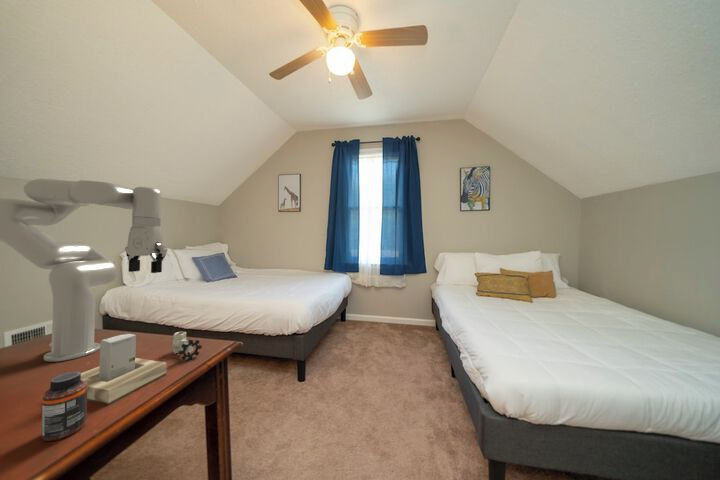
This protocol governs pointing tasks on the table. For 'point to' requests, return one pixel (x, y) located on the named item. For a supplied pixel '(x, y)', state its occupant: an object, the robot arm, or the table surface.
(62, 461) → the table surface
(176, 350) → the valve
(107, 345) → the skincare box
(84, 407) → the supplement bottle
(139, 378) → the socket block
